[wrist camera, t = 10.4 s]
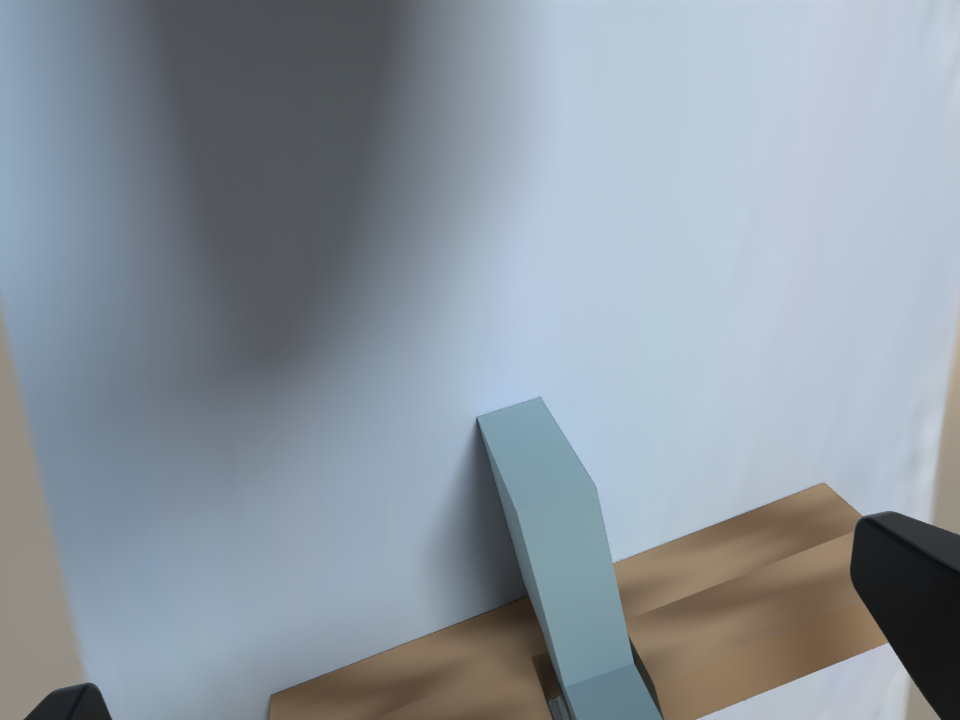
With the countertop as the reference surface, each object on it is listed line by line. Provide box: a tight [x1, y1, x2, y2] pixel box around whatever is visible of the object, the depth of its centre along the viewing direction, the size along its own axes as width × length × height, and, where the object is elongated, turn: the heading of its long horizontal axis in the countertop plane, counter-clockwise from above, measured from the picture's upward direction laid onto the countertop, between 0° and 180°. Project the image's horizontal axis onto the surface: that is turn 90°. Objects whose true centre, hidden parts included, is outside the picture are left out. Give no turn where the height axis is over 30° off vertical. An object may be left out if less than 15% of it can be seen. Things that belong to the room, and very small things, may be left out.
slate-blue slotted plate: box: [477, 397, 663, 720], centre depth 22 cm, size 16×2×8 cm, turn 14°
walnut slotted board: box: [269, 483, 889, 720], centre depth 24 cm, size 20×2×5 cm, turn 107°
